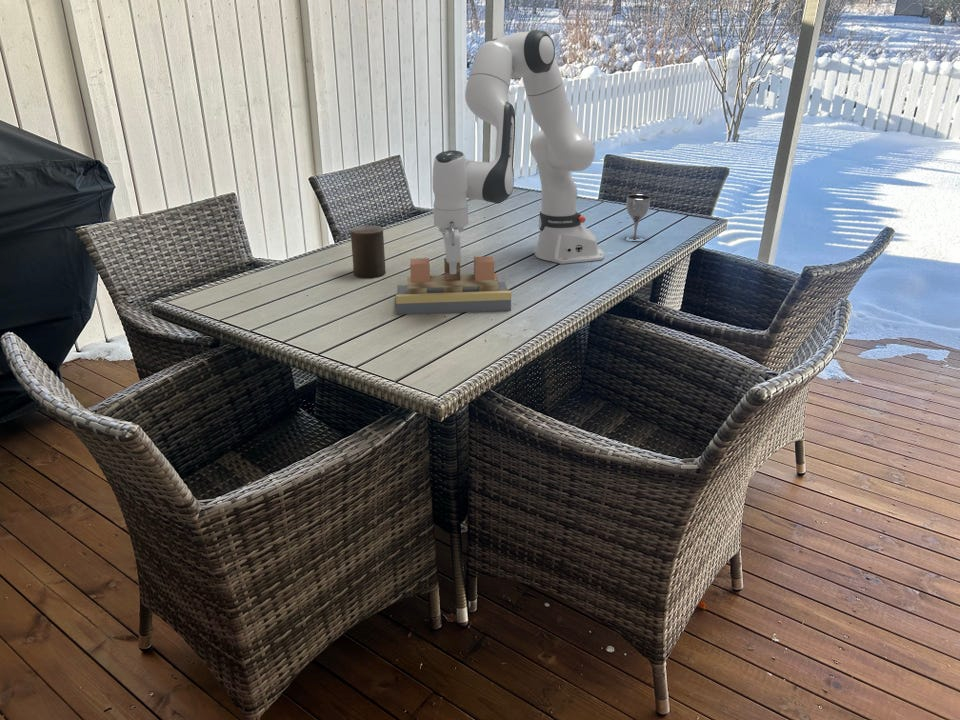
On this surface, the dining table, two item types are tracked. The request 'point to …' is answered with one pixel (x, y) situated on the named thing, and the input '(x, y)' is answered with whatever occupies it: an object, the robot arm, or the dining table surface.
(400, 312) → the dock
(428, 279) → the block
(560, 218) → the robot arm
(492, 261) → the block
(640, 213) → the wine glass
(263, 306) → the dining table surface
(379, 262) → the pillar candle
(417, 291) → the pallet
